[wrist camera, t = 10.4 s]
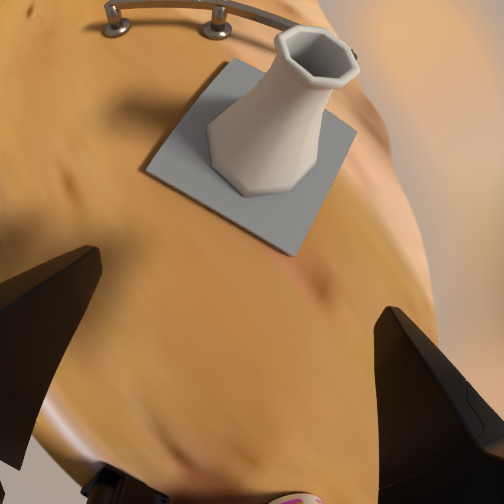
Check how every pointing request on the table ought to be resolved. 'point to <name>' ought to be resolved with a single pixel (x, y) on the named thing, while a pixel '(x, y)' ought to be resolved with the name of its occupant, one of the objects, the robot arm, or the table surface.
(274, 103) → the flask
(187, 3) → the bent rail
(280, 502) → the supplement bottle
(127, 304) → the table surface
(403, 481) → the robot arm
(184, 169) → the slate coaster
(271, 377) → the table surface
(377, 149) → the table surface
